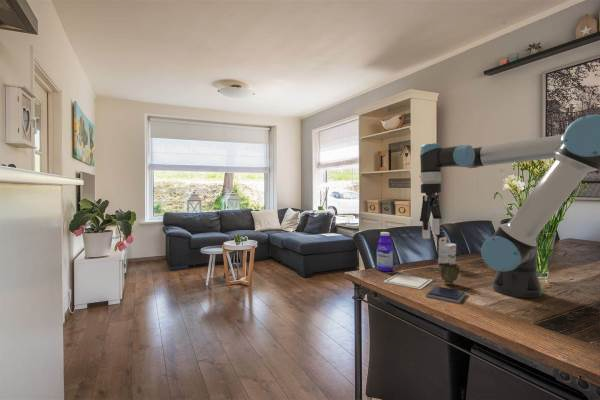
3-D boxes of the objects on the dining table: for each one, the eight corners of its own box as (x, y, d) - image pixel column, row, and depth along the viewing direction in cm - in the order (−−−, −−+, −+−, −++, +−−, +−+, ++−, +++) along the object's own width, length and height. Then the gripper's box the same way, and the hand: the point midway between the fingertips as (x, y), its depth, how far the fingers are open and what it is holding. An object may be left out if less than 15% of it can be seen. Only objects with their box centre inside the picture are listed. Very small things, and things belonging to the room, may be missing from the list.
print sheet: (432, 280, 136) (432, 279, 136) (420, 289, 125) (420, 288, 125) (397, 274, 146) (397, 273, 146) (383, 282, 134) (383, 281, 134)
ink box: (448, 271, 150) (449, 239, 150) (437, 269, 154) (438, 238, 153) (456, 268, 156) (456, 237, 156) (445, 266, 160) (446, 236, 159)
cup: (461, 287, 127) (461, 267, 127) (440, 286, 128) (441, 266, 128) (456, 282, 134) (456, 262, 134) (436, 281, 136) (437, 261, 135)
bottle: (374, 270, 153) (375, 232, 152) (379, 267, 158) (380, 231, 157) (390, 272, 149) (390, 233, 148) (394, 269, 153) (395, 232, 153)
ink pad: (466, 294, 119) (467, 291, 119) (459, 303, 110) (459, 299, 110) (435, 288, 125) (435, 285, 125) (425, 296, 117) (425, 292, 117)
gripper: (429, 183, 145) (430, 232, 145) (410, 183, 125) (411, 239, 125) (448, 183, 140) (448, 233, 140) (431, 182, 120) (432, 240, 120)
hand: (431, 236), depth 133 cm, fingers open, 13 cm apart
